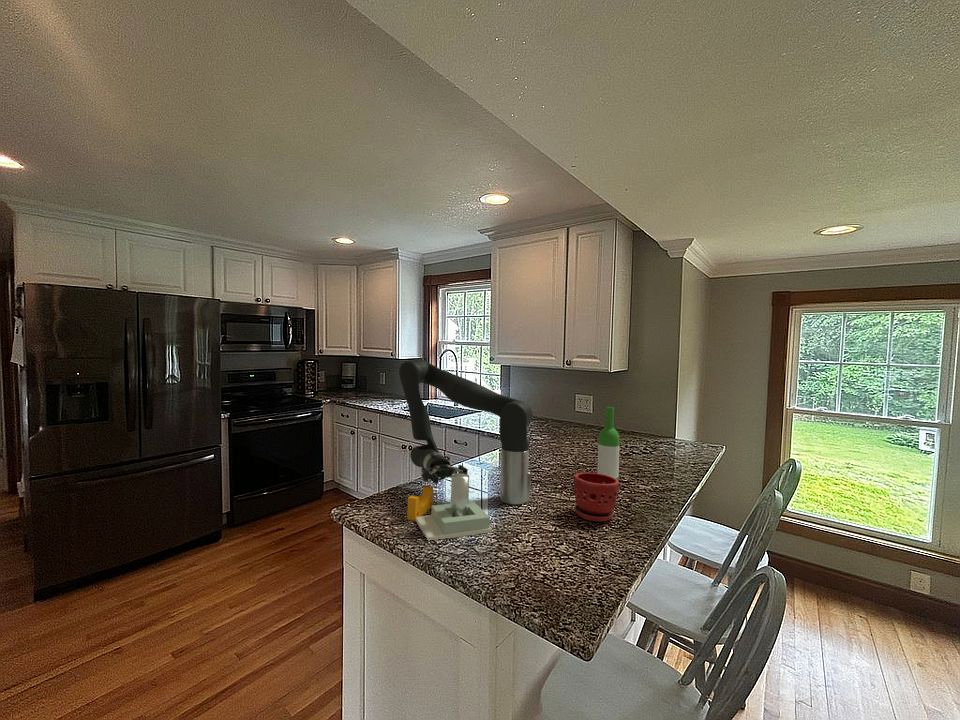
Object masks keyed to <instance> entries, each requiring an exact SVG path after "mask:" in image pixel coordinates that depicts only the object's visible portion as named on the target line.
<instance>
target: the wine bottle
mask: <svg viewBox="0 0 960 720" xmlns="http://www.w3.org/2000/svg"><path fill="white" fill-rule="evenodd" d="M614 413H615V407H613V406H606V407H605V423H604V424H605V426H604V428H603V429H601V431H599V434H598V446H597V447H598V449H597V472H596V473H598V474H603V475H607V476H610V477H613V478H615V479H617V480H618V481H619V471H620V470H619V469H620V467H619V466H620V434H619V432H618V431H617V430H616V428H614V422H615V421H614V418H615V417H614V416H615V415H614ZM603 484H605V482H603Z"/></svg>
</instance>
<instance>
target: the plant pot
mask: <svg viewBox="0 0 960 720" xmlns="http://www.w3.org/2000/svg"><path fill="white" fill-rule="evenodd" d="M603 482H605V484H603ZM619 485H620V483H619V479H618V480H617V479H615V478H613V477H610V476H607V475H603V474H598V473H597V472H578V473H576V474H575V475H574V478H573V493H574V498H575V503H576V505H575V506H574V511H575V513H576V514H577V515H578V516H579V517H581V518H582V519H583V520H589V521H592V522H608V521H610V520H611V519H613V517H614V515H615V513H614V511H613V510H614V508H615V506H616V502H617V499H618V493H619Z"/></svg>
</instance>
